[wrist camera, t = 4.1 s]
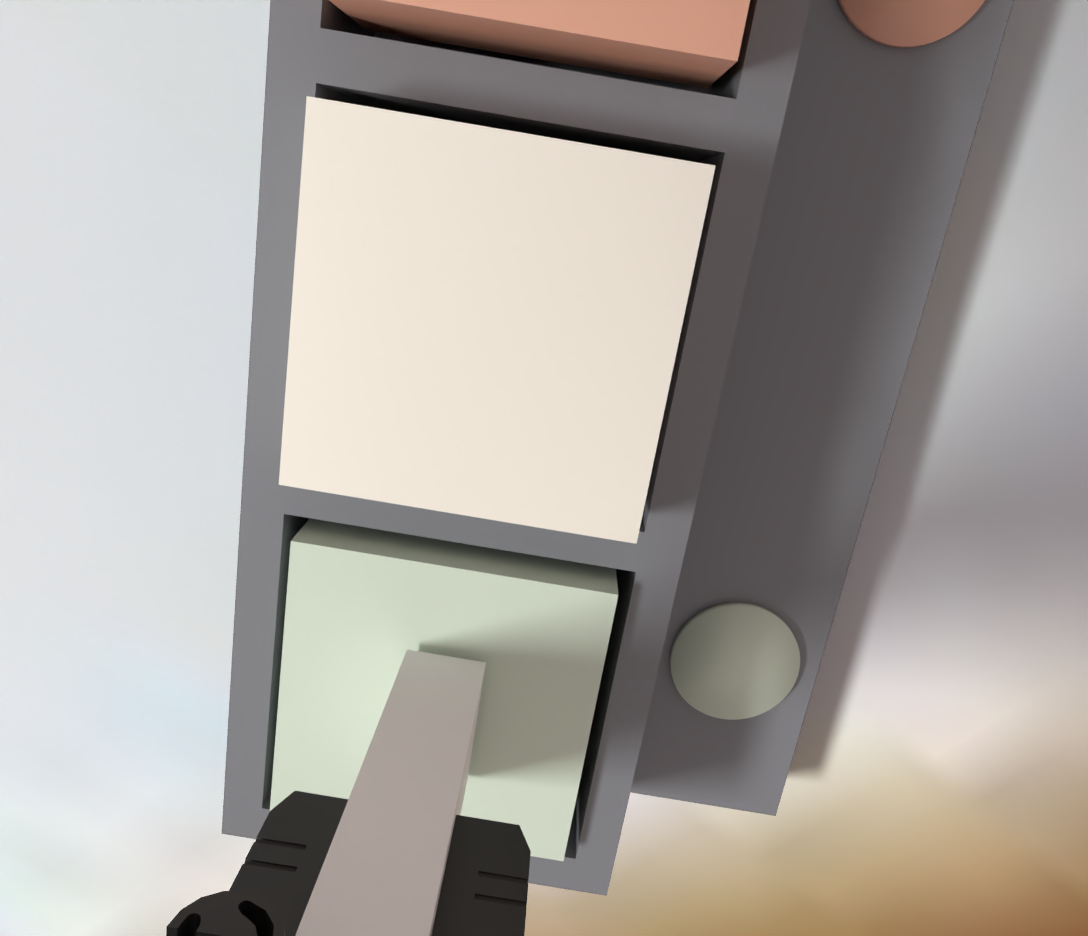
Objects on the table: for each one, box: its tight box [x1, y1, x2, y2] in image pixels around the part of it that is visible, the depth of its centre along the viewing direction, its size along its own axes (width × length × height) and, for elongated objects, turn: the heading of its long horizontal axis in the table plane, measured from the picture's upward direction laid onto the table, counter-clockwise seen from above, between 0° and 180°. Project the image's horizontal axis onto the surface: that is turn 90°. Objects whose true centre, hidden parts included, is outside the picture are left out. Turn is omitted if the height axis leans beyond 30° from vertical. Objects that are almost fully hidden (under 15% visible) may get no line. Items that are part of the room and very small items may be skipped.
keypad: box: [222, 0, 1014, 896], centre depth 17 cm, size 13×23×5 cm, turn 171°
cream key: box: [279, 96, 715, 544], centre depth 15 cm, size 6×6×3 cm
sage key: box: [270, 518, 618, 861], centre depth 18 cm, size 6×6×3 cm
